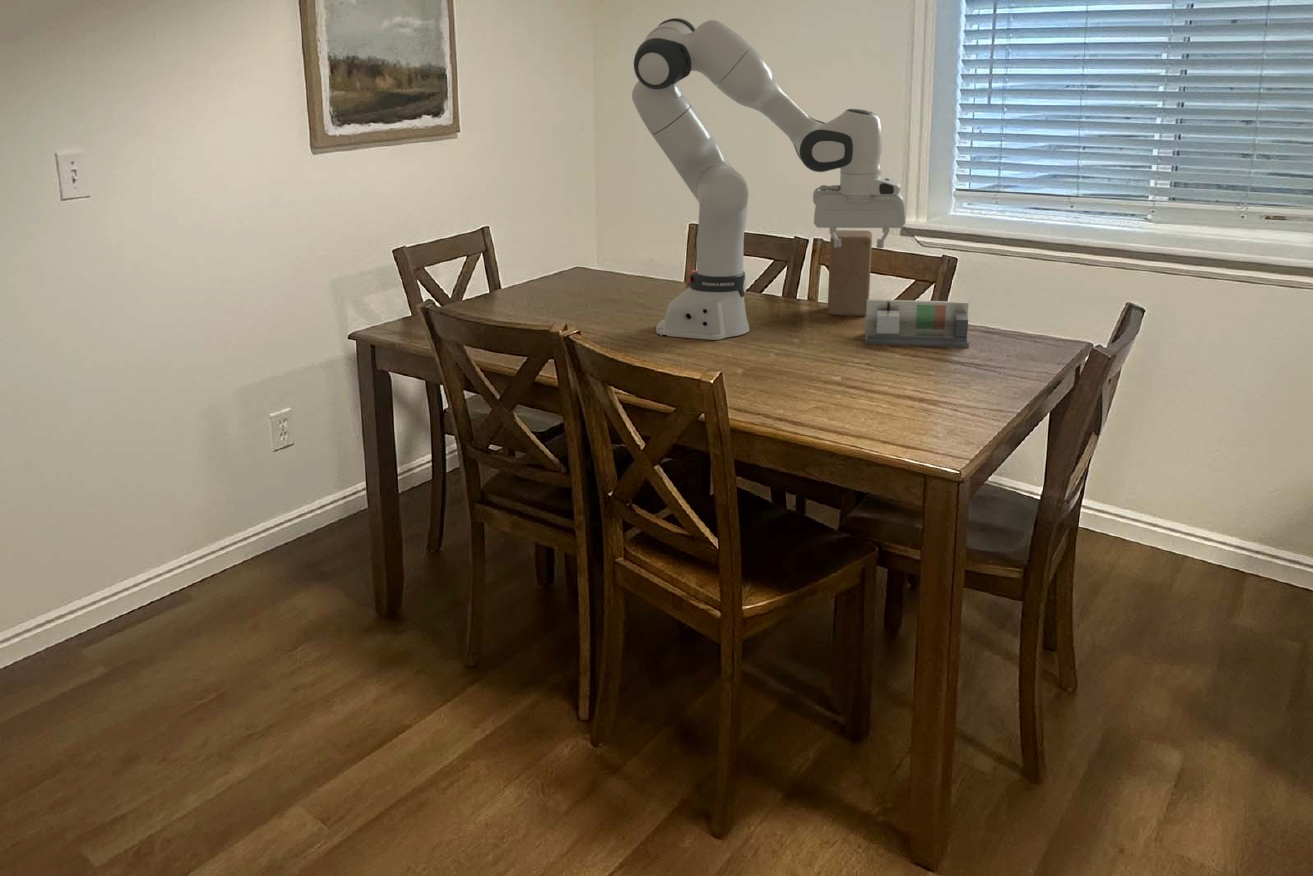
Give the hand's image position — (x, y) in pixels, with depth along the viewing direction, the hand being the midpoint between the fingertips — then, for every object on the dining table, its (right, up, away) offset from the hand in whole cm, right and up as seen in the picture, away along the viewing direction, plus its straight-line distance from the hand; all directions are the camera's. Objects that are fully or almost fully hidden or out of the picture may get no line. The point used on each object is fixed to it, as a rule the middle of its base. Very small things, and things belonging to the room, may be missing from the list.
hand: (858, 247), depth 253 cm
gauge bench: (+14, -20, +7) cm, 26 cm away
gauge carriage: (+8, -19, +6) cm, 21 cm away
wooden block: (+3, -11, +33) cm, 35 cm away
